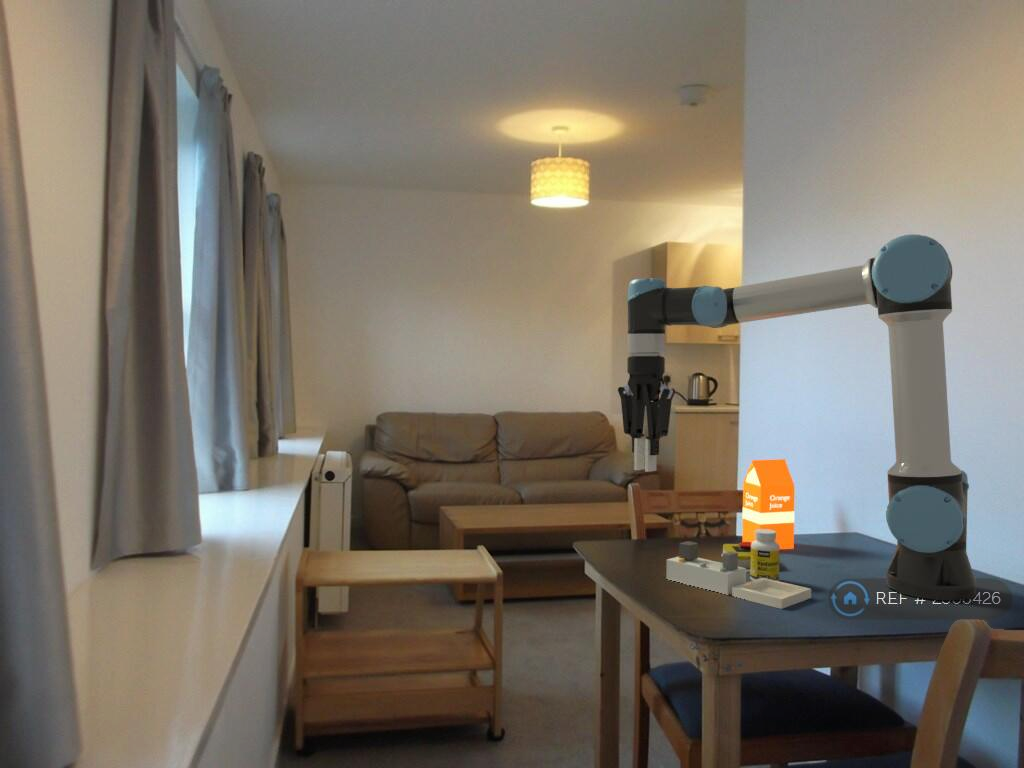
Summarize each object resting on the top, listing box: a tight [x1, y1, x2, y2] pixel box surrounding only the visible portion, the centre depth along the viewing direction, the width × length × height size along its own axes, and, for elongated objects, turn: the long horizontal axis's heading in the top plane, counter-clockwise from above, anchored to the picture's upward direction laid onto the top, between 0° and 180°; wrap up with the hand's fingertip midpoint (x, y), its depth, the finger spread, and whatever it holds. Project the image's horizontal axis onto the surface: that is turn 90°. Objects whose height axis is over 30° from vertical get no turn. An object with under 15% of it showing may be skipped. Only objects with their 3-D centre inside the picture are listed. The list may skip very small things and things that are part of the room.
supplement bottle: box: [749, 529, 781, 582], centre depth 164 cm, size 5×5×10 cm
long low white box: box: [666, 552, 747, 596], centre depth 162 cm, size 14×6×7 cm, turn 41°
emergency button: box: [720, 541, 781, 573], centre depth 179 cm, size 9×4×15 cm
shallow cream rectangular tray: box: [731, 578, 812, 610], centre depth 153 cm, size 10×10×2 cm
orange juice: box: [741, 458, 796, 550], centre depth 194 cm, size 8×9×20 cm
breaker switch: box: [678, 540, 699, 561], centre depth 165 cm, size 2×3×3 cm
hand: (645, 470), depth 172 cm, fingers open, 2 cm apart
